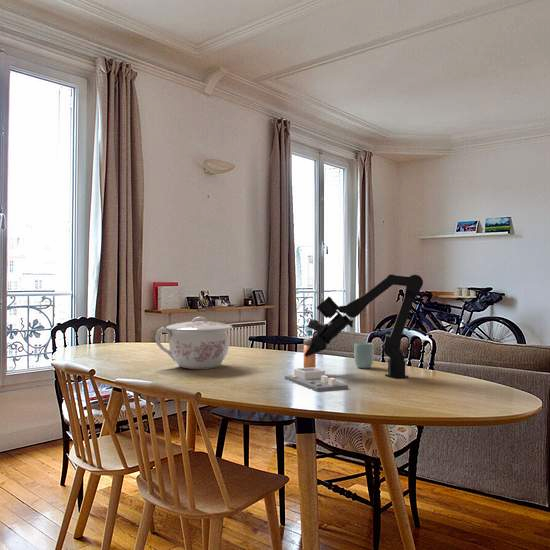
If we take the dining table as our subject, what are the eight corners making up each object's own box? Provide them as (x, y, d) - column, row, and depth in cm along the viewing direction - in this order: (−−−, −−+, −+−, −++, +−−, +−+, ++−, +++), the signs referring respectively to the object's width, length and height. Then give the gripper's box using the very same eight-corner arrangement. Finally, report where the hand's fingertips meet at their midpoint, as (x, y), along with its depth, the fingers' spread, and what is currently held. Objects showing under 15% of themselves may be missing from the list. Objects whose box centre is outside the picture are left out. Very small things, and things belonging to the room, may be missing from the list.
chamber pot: (245, 365, 234) (245, 316, 234) (205, 375, 211) (205, 320, 211) (193, 359, 249) (193, 313, 249) (149, 368, 225) (150, 317, 225)
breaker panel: (348, 388, 187) (348, 377, 187) (316, 391, 182) (316, 380, 182) (313, 376, 209) (313, 366, 209) (284, 379, 204) (284, 368, 204)
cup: (351, 368, 228) (351, 343, 228) (357, 365, 235) (358, 342, 235) (369, 370, 225) (370, 345, 225) (375, 367, 232) (376, 343, 232)
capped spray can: (317, 373, 215) (317, 340, 215) (307, 374, 213) (307, 340, 213) (311, 372, 219) (312, 338, 219) (301, 372, 217) (301, 339, 217)
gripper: (322, 310, 225) (295, 337, 227) (317, 313, 206) (287, 342, 208) (341, 330, 223) (314, 357, 225) (338, 335, 205) (308, 364, 207)
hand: (306, 354), depth 216 cm, fingers closed on capped spray can, 5 cm apart
